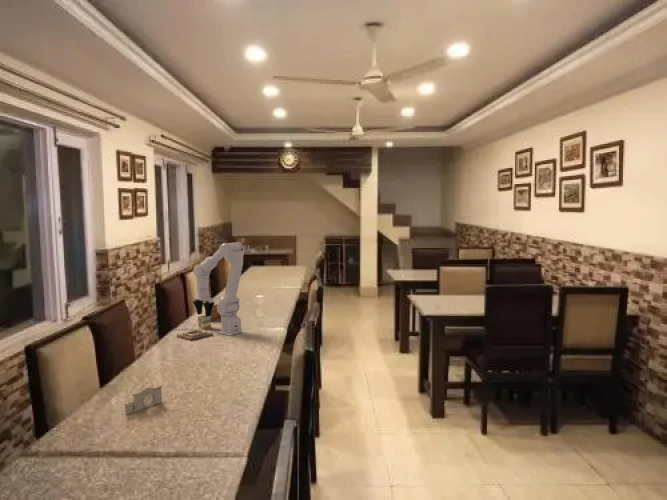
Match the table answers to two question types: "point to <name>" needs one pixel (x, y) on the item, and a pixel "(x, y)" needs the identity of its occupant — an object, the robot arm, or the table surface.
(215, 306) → the tin
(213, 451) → the table surface
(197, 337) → the plate
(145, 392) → the garden wall model
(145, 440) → the table surface
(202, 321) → the stack
